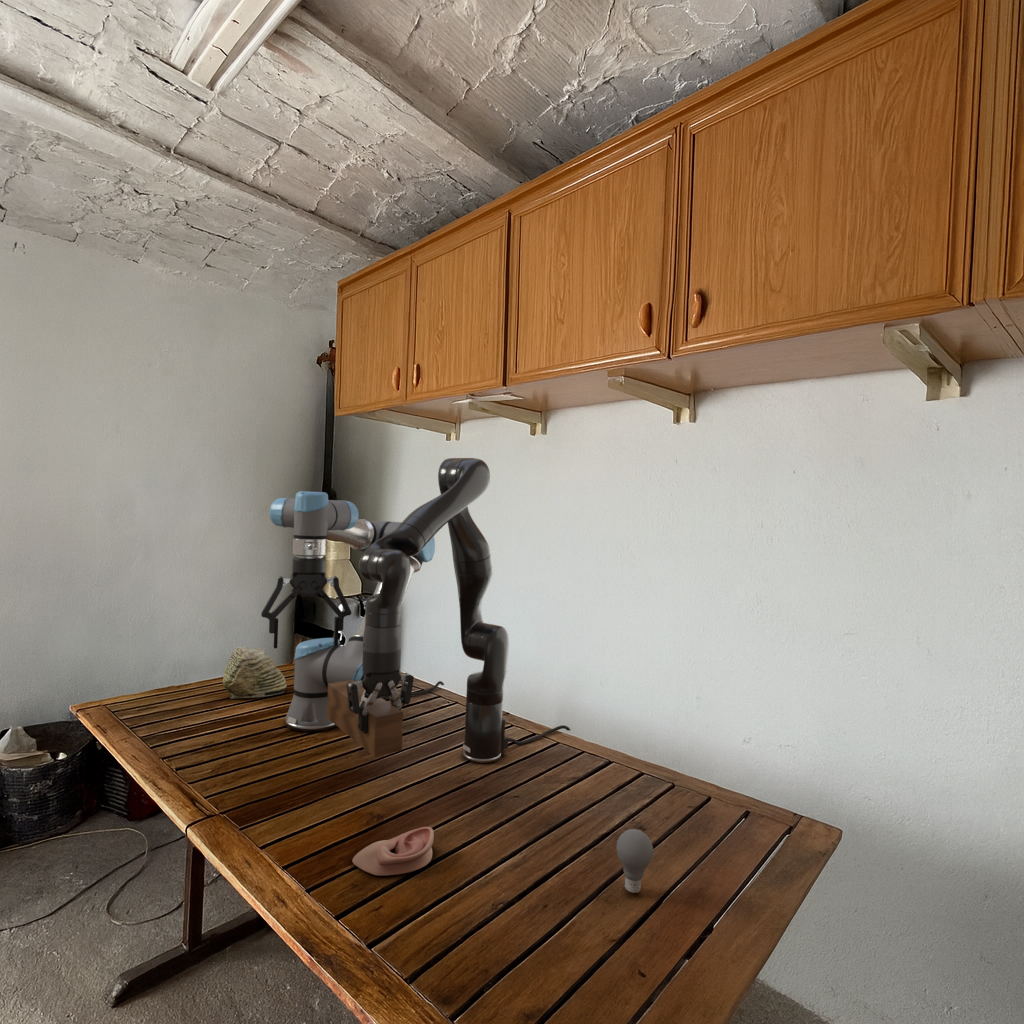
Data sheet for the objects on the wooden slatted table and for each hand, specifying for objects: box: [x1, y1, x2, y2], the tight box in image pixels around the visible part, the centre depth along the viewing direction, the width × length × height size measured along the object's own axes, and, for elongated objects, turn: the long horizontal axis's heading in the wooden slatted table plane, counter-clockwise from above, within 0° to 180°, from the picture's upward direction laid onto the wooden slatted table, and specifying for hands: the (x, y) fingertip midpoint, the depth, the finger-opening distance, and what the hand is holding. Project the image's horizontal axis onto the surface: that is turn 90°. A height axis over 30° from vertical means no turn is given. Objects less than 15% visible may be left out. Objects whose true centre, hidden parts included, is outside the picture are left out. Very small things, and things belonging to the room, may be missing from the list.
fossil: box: [222, 646, 288, 699], centre depth 198 cm, size 9×18×15 cm, turn 132°
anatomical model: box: [351, 826, 435, 877], centre depth 112 cm, size 13×4×12 cm
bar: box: [327, 680, 404, 758], centre depth 135 cm, size 25×6×8 cm, turn 37°
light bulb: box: [615, 828, 654, 894], centre depth 106 cm, size 6×6×10 cm
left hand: (306, 645), depth 150 cm, fingers open, 13 cm apart
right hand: (379, 728), depth 128 cm, fingers closed on bar, 6 cm apart
